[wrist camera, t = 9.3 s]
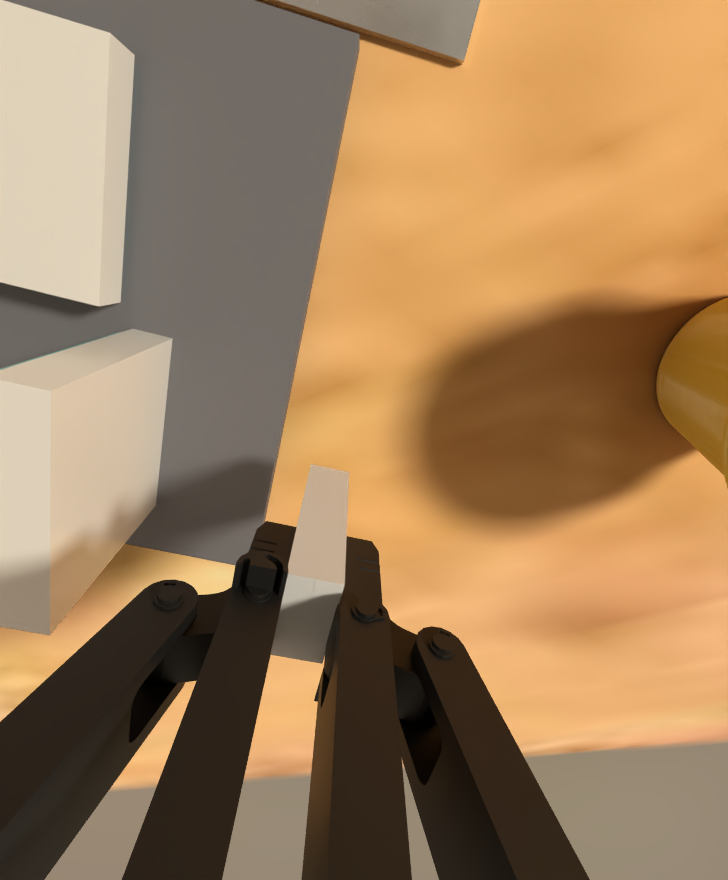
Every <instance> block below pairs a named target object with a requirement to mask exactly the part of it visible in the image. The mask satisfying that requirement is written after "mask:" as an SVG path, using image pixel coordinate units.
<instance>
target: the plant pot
mask: <svg viewBox="0 0 728 880" xmlns="http://www.w3.org/2000/svg"><path fill="white" fill-rule="evenodd" d="M656 390H657V398H658V403H659V406H660V409H661V411H662V413H663V415H664V417H665V418H666V419H667V421H668V422H669V423H670V424H671V425H672V426H673V427H674V428H675V429H676V430H677V431H678V432H679V433H680V434H681V435H682V436H683V437H684V438H685V439H686V440H688V441H689V442H690V443H691V444H692V445H693V446H694V447H695V448H696V449H697V450H698V451H699V452H700V453H701V454H702V455H703V456H704V457H705V458H706V459H707V460H708V461H709V462H710V463H711V464H713V465H714V466H715V467H716V468H717V469H718V470H719V471H720V472H721V473H722V474H723V475H724V477H725V481H726V484H727V487H728V298H725V299H722V300H720V301H718V302H716V303H714V304H712V305H710V306H708V307H707V308H705V309H703V310H702V311H700V312H699V313H698V314H696V315H695V316H694V317H693V318H691V319H690V320H689V321H688V322H687V323H686V324H685V325H684V326H683V327H682V328H681V329H680V330H679V332H678V333H677V334H676V335H675V337H674V338H673V339H672V341H671V343H670V344H669V346H668V347H667V349H666V351H665V353H664V356H663V358H662V360H661V363H660V366H659V369H658V374H657V383H656Z"/></svg>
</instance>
